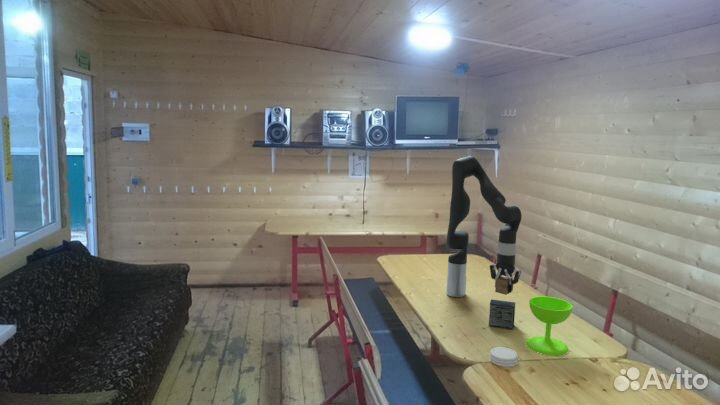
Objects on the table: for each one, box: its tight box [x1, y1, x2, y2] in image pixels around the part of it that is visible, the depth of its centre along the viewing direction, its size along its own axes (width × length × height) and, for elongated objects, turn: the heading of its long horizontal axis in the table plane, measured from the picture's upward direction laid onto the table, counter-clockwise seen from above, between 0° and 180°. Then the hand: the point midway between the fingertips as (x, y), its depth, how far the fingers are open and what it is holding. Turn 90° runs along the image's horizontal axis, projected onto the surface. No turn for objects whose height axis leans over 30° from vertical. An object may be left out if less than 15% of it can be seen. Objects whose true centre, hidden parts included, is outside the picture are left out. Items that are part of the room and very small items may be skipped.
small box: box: [488, 299, 516, 331], centre depth 216 cm, size 11×6×10 cm, turn 71°
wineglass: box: [525, 295, 574, 357], centre depth 195 cm, size 16×16×18 cm
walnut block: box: [494, 275, 512, 296], centre depth 213 cm, size 5×5×6 cm
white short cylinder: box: [489, 346, 519, 368], centre depth 183 cm, size 10×10×4 cm
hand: (503, 290), depth 214 cm, fingers closed on walnut block, 5 cm apart
